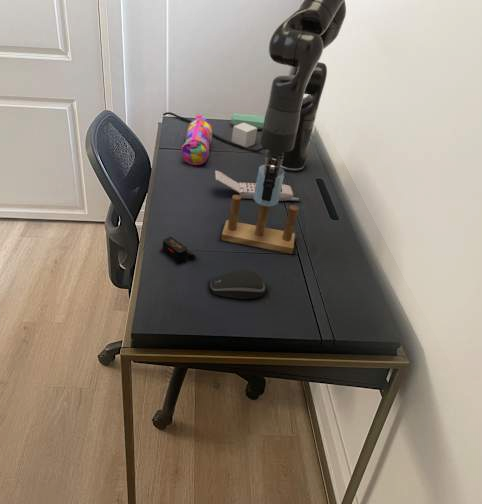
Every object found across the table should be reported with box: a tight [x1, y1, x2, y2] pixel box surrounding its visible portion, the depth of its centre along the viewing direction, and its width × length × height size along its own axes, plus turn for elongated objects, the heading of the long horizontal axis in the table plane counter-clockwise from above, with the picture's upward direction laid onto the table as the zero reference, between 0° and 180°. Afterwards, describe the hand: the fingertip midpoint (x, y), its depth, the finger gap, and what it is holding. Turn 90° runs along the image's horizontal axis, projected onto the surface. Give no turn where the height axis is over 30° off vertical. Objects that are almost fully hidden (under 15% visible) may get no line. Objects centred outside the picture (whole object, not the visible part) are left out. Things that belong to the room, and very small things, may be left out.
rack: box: [220, 194, 299, 255], centre depth 123 cm, size 18×7×11 cm, turn 79°
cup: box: [252, 164, 286, 207], centre depth 117 cm, size 6×6×8 cm
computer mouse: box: [209, 268, 266, 300], centre depth 108 cm, size 7×12×4 cm, turn 94°
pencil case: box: [180, 114, 213, 166], centre depth 161 cm, size 22×9×9 cm, turn 178°
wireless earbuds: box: [162, 236, 196, 263], centre depth 116 cm, size 5×7×3 cm, turn 44°
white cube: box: [230, 123, 258, 148], centre depth 172 cm, size 6×6×6 cm
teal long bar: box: [230, 112, 265, 131], centre depth 185 cm, size 6×6×25 cm
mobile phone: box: [214, 169, 300, 202], centre depth 143 cm, size 6×6×25 cm
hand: (267, 193), depth 118 cm, fingers closed on cup, 6 cm apart
